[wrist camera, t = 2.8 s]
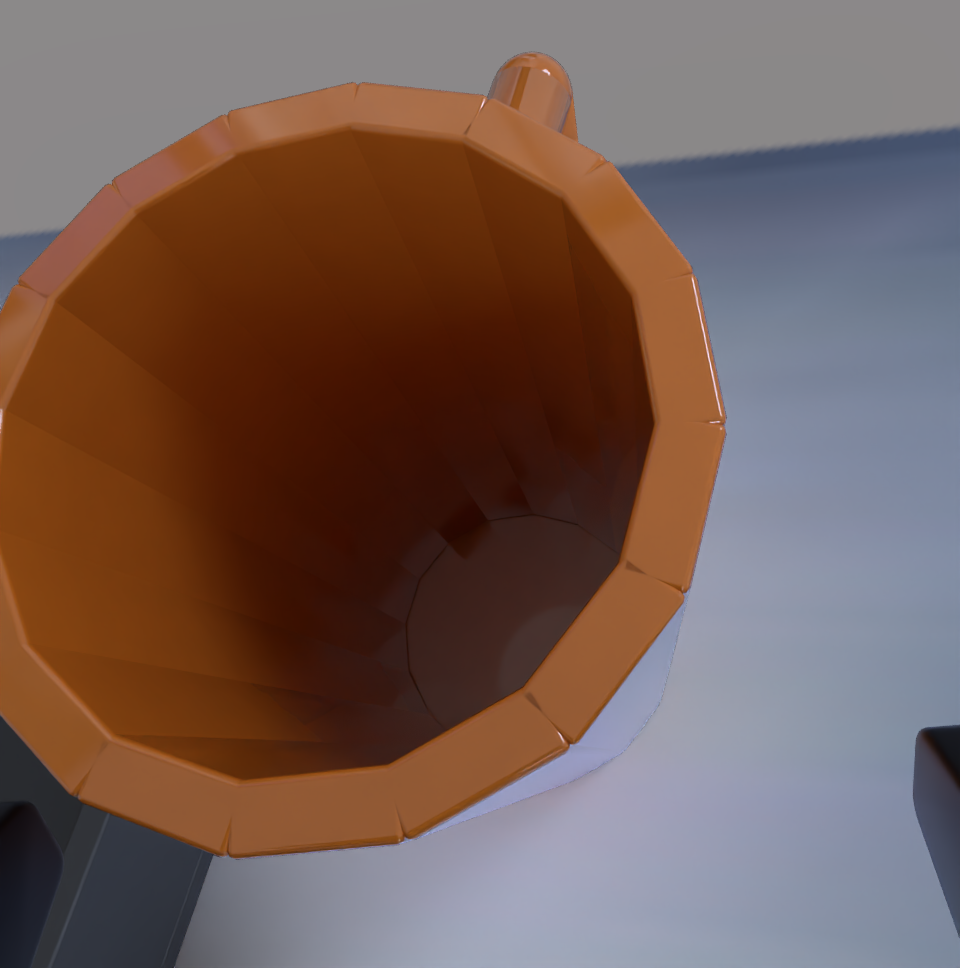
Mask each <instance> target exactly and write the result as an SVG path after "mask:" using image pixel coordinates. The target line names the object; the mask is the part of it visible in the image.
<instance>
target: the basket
mask: <svg viewBox="0 0 960 968" xmlns="http://www.w3.org/2000/svg"><path fill="white" fill-rule="evenodd" d="M10 801H29V802H31V803H32V804H34V805H35V806H36V807H37V809H38V810H39V812H40V813H41V815H42V817H43V819H44V820H45V822H46V824H47V825H48V827H49V829H50V831H51V832H52V834H53V836H54V838H55V839H56V841H57V843H58V844H59V846H60V848H61V850H62V853H63V857H64V868H63V874H62V878H61V881H60V884H59V887H58V890H57V893H56V896H55V899H54V902H53V905H52V908H51V911H50V914H49V917H48V920H47V923H46V926H45V928H44V931H43V934H42V937H41V940H40V943H39V946H38V949H37V952H36V955H35V958H34V961H33V964H32V967H31V968H174V965H175V962H176V959H177V956H178V953H179V951H180V948H181V945H182V942H183V939H184V936H185V933H186V931H187V928H188V925H189V922H190V919H191V916H192V913H193V910H194V908H195V905H196V902H197V899H198V896H199V893H200V890H201V888H202V885H203V882H204V879H205V876H206V873H207V870H208V868H209V865H210V862H211V859H212V856H213V855H212V854H210V853H207V852H205V851H202V850H200V849H197V848H195V847H192V846H189V845H187V844H184V843H182V842H179V841H177V840H174V839H172V838H169V837H167V836H164V835H161V834H159V833H156V832H154V831H151V830H149V829H146V828H144V827H141V826H138V825H136V824H133V823H131V822H128V821H126V820H123V819H121V818H118V817H116V816H113V815H110V814H108V813H105V812H103V811H100V810H98V809H95V808H93V807H90V806H87V805H85V804H83V803H82V802H81V801H79V800H78V797H77V798H76V797H74V796H71V795H70V794H69V793H68V792H67V791H66V790H65V789H64V788H63V786H62V785H61V784H60V783H59V782H58V781H57V780H56V778H55V777H54V776H53V775H52V774H51V773H50V772H49V770H48V769H47V768H46V767H45V766H44V765H43V764H42V762H41V761H40V760H39V759H38V758H37V757H36V756H35V754H34V753H33V752H32V751H31V750H30V749H29V748H28V746H27V745H26V744H25V743H24V742H23V741H22V739H21V738H20V737H19V736H18V735H17V734H16V733H15V731H14V730H13V729H12V728H11V727H10V726H9V725H8V723H7V722H6V721H5V720H4V719H3V718H2V717H1V715H0V802H10Z"/></svg>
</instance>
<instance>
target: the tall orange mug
mask: <svg viewBox="0 0 960 968" xmlns="http://www.w3.org/2000/svg"><path fill="white" fill-rule="evenodd" d="M18 283H19V284H17V285H14V286H13V287H12V289H11V291H10V293H9V295H8V297H7V299H6V301H5V303H4V305H3V307H2V309H1V311H0V715H1V717H2V718H3V719H4V720H5V721H6V722H7V723H8V725H9V726H10V727H11V728H12V729H13V730H14V731H15V733H16V734H17V735H18V736H19V737H20V738H21V739H22V741H23V742H24V743H25V744H26V745H27V746H28V748H29V749H30V750H31V751H32V752H33V753H34V754H35V756H36V757H37V758H38V759H39V760H40V761H41V762H42V764H43V765H44V766H45V767H46V768H47V769H48V770H49V772H50V773H51V774H52V775H53V776H54V777H55V778H56V780H57V781H58V782H59V783H60V784H61V785H62V786H63V788H64V789H65V790H66V791H67V792H68V793H69V794H70V795H71V796H74V797H76V798H77V797H78V800H79V801H81V802H82V803H83V804H85V805H87V806H90V807H93V808H95V809H98V810H100V811H103V812H105V813H108V814H110V815H113V816H116V817H118V818H121V819H123V820H126V821H128V822H131V823H133V824H136V825H138V826H141V827H144V828H146V829H149V830H151V831H154V832H156V833H159V834H161V835H164V836H167V837H169V838H172V839H174V840H177V841H179V842H182V843H184V844H187V845H189V846H192V847H195V848H197V849H200V850H202V851H205V852H207V853H210V854H212V855H215V856H217V857H228V856H229V857H231V858H233V859H236V860H240V859H251V858H262V857H273V856H284V855H295V854H306V853H317V852H328V851H340V850H351V849H362V848H373V847H384V846H395V845H400V844H403V843H405V842H408V841H411V840H416V839H418V838H421V837H424V836H427V835H429V834H432V833H435V832H437V831H440V830H443V829H445V828H448V827H451V826H453V825H456V824H459V823H462V822H464V821H467V820H470V819H472V818H475V817H478V816H480V815H483V814H486V813H489V812H491V811H494V810H497V809H499V808H502V807H505V806H507V805H510V804H513V803H515V802H518V801H521V800H524V799H526V798H529V797H532V796H534V795H537V794H540V793H542V792H545V791H548V790H551V789H553V788H556V787H559V786H561V785H564V784H567V783H569V782H572V781H574V780H576V779H578V778H580V777H581V776H583V775H585V774H587V773H588V772H590V771H592V770H594V769H596V768H598V767H600V766H601V765H603V764H604V763H606V762H608V761H610V760H611V759H613V758H615V757H617V756H618V755H620V754H622V752H623V751H625V750H626V749H627V748H628V747H629V745H630V744H631V742H632V741H633V740H634V738H635V737H636V736H637V734H638V733H639V732H640V731H641V730H642V729H643V727H644V726H645V724H646V722H647V721H648V719H649V718H650V717H651V715H652V714H653V713H654V711H655V710H656V709H657V707H658V706H659V704H660V701H661V700H662V696H663V692H664V689H665V685H666V681H667V677H668V673H669V669H670V665H671V661H672V658H673V654H674V650H675V646H676V642H677V638H678V634H679V631H680V627H681V623H682V619H683V615H684V611H685V607H686V604H687V600H688V596H689V592H690V588H691V584H692V580H693V575H694V571H695V567H696V562H697V558H698V554H699V550H700V545H701V541H702V537H703V532H704V528H705V524H706V520H707V515H708V511H709V507H710V502H711V498H712V494H713V490H714V485H715V481H716V477H717V473H718V468H719V464H720V460H721V455H722V451H723V447H724V443H725V438H726V429H725V423H726V418H727V417H726V412H725V407H724V402H723V398H722V393H721V388H720V383H719V379H718V374H717V369H716V364H715V360H714V355H713V350H712V345H711V340H710V336H709V331H708V326H707V321H706V317H705V312H704V307H703V302H702V298H701V293H700V288H699V283H698V280H697V278H696V277H695V275H694V274H693V269H692V266H691V265H690V264H689V262H688V261H687V260H686V258H685V257H684V256H683V255H682V253H681V252H680V251H679V249H678V248H677V247H676V245H675V244H674V243H673V242H672V240H671V239H670V238H669V236H668V235H667V234H666V232H665V231H664V230H663V229H662V227H661V226H660V225H659V223H658V222H657V221H656V219H655V218H654V217H653V216H652V214H651V213H650V212H649V210H648V209H647V208H646V206H645V205H644V204H643V203H642V201H641V200H640V199H639V197H638V196H637V195H636V193H635V192H634V191H633V190H632V188H631V187H630V186H629V184H628V183H627V182H626V180H625V179H624V178H623V177H622V175H621V174H620V173H619V171H618V170H617V169H616V167H615V166H614V165H613V164H612V163H611V162H609V161H606V159H605V158H604V157H603V156H602V155H601V154H599V153H597V152H595V151H593V150H591V149H589V148H587V147H585V146H584V145H582V144H580V143H578V136H577V127H576V119H575V110H574V101H573V92H572V87H571V83H570V80H569V77H568V75H567V73H566V71H565V70H564V68H563V67H562V66H561V64H560V63H559V62H558V61H556V60H555V59H554V58H552V57H550V56H548V55H546V54H543V53H539V52H525V53H521V54H518V55H516V56H514V57H512V58H511V59H509V60H508V61H507V62H505V63H504V65H503V66H502V67H501V68H500V69H499V71H498V72H497V74H496V76H495V78H494V80H493V82H492V85H491V88H490V91H489V94H488V97H486V96H484V95H479V94H469V93H460V92H450V91H441V90H432V89H422V88H413V87H403V86H394V85H384V84H374V83H365V82H362V83H360V84H358V85H357V84H356V83H353V82H351V83H347V84H342V85H338V86H334V87H330V88H325V89H321V90H317V91H313V92H308V93H304V94H300V95H295V96H291V97H287V98H282V99H278V100H274V101H269V102H266V103H261V104H257V105H252V106H248V107H244V108H239V109H235V110H231V111H230V112H229V113H228V116H227V115H221V116H219V117H217V118H216V119H214V120H212V121H210V122H209V123H207V124H205V125H204V126H202V127H200V128H199V129H197V130H195V131H193V132H192V133H190V134H188V135H187V136H185V137H183V138H181V139H180V140H178V141H177V142H175V143H173V144H171V145H170V146H168V147H166V148H165V149H163V150H161V151H159V152H158V153H156V154H154V155H152V156H151V157H149V158H147V159H146V160H144V161H142V162H141V163H139V164H137V165H135V166H134V167H132V168H130V169H129V170H127V171H125V172H123V173H122V174H120V175H119V176H117V177H115V178H114V179H113V180H112V185H111V184H107V185H105V186H104V187H103V188H102V189H101V190H100V191H99V192H98V193H97V194H96V196H95V197H94V198H93V199H92V200H91V201H90V202H89V203H88V204H87V205H86V206H85V207H84V208H83V209H82V211H81V212H80V213H79V214H78V215H77V216H76V217H75V218H74V219H73V220H72V221H71V222H70V223H69V224H68V225H67V227H66V228H65V229H64V230H63V231H62V232H61V233H60V234H59V235H58V236H57V237H56V238H55V239H54V240H53V242H52V243H51V244H50V245H49V246H48V247H47V248H46V249H45V250H44V251H43V252H42V253H41V254H40V256H39V257H38V258H37V259H36V260H35V261H34V262H33V263H32V264H31V265H30V266H29V267H28V268H27V269H26V271H25V272H24V273H23V274H22V275H21V276H20V277H19V279H18Z"/></svg>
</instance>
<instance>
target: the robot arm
mask: <svg viewBox="0 0 960 968" xmlns="http://www.w3.org/2000/svg"><path fill="white" fill-rule="evenodd" d="M913 800H914V806H915V811H916V815H917V818H918V821H919V824H920V827H921V830H922V833H923V836H924V839H925V841H926V844H927V847H928V850H929V853H930V856H931V859H932V861H933V864H934V867H935V870H936V873H937V876H938V878H939V881H940V884H941V887H942V890H943V893H944V896H945V898H946V901H947V904H948V907H949V910H950V913H951V915H952V918H953V921H954V924H955V927H956V930H957V933H958V935H959V938H960V725H952V726H939V727H927V728H924V729H921V730H920V731H919V733H918V735H917V738H916V745H915V763H914V780H913ZM63 868H64V857H63V853H62V850H61V848H60V846H59V844H58V843H57V841H56V839H55V838H54V836H53V834H52V832H51V831H50V829H49V827H48V825H47V824H46V822H45V820H44V819H43V817H42V815H41V813H40V812H39V810H38V809H37V807H36V806H35V805H34V804H32V803H31V802H29V801H10V802H0V968H31V967H32V964H33V961H34V958H35V955H36V952H37V949H38V946H39V943H40V940H41V937H42V934H43V931H44V928H45V926H46V923H47V920H48V917H49V914H50V911H51V908H52V905H53V902H54V899H55V896H56V893H57V890H58V887H59V884H60V881H61V878H62V874H63Z"/></svg>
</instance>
